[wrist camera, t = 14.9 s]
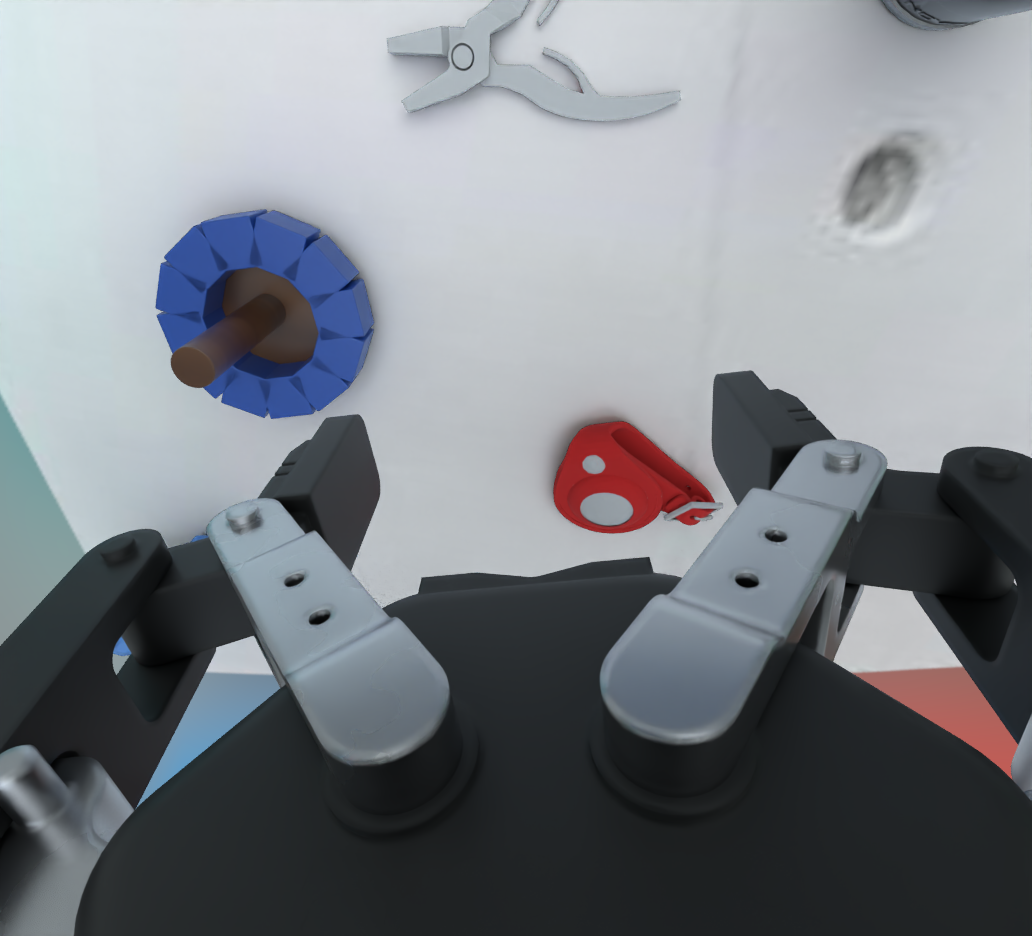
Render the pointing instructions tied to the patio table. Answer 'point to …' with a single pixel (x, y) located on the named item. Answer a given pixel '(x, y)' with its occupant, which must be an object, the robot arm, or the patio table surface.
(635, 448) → the tracker holder
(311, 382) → the ring
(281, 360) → the post
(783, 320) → the patio table surface
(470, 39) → the pliers
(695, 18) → the patio table surface
